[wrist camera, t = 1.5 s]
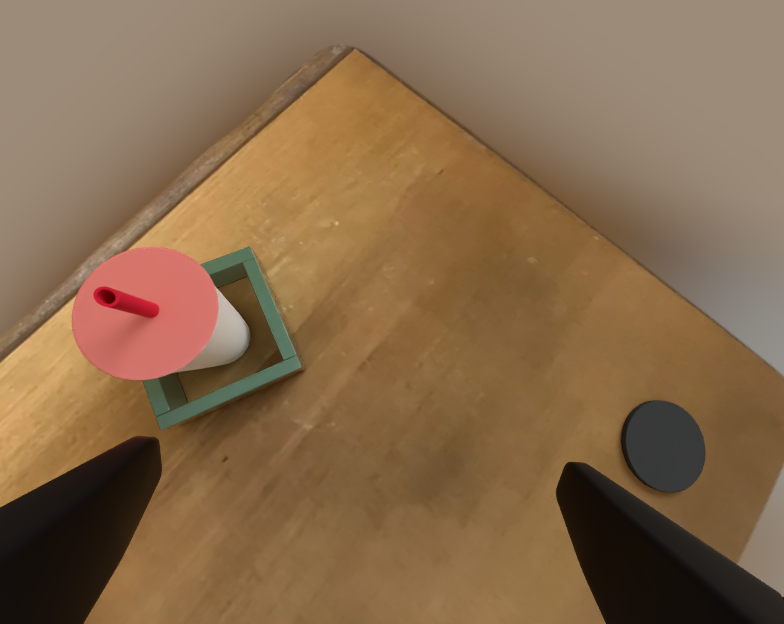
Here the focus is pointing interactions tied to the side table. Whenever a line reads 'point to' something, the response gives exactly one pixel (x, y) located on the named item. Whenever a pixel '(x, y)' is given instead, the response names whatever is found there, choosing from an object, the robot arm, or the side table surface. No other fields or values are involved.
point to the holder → (178, 411)
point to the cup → (155, 316)
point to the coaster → (663, 446)
